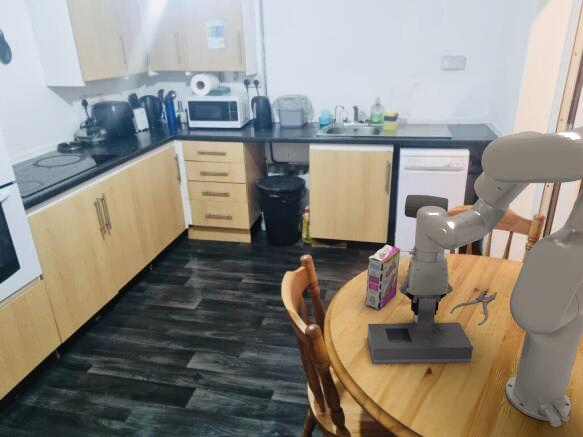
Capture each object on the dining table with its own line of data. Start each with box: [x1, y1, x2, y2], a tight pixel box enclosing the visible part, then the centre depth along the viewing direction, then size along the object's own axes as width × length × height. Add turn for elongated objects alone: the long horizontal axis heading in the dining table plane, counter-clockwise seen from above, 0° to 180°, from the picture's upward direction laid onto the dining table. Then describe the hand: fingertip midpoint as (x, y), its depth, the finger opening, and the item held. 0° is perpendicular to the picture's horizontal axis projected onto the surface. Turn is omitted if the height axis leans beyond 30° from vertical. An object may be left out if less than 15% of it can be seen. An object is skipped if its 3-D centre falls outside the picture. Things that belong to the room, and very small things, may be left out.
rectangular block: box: [366, 321, 474, 364], centre depth 111 cm, size 10×24×4 cm, turn 89°
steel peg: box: [412, 295, 436, 323], centre depth 119 cm, size 4×4×9 cm
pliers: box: [449, 288, 498, 326], centre depth 130 cm, size 10×1×20 cm
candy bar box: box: [365, 244, 401, 311], centre depth 130 cm, size 11×5×16 cm, turn 141°
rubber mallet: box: [404, 194, 449, 219], centre depth 136 cm, size 12×8×30 cm, turn 68°
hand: (424, 311), depth 120 cm, fingers closed on steel peg, 4 cm apart
